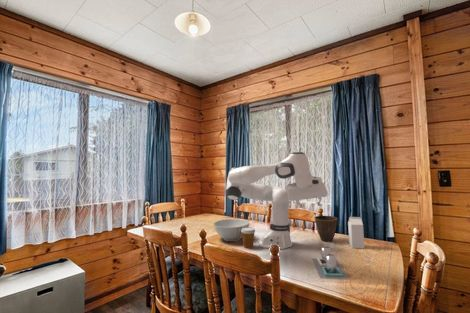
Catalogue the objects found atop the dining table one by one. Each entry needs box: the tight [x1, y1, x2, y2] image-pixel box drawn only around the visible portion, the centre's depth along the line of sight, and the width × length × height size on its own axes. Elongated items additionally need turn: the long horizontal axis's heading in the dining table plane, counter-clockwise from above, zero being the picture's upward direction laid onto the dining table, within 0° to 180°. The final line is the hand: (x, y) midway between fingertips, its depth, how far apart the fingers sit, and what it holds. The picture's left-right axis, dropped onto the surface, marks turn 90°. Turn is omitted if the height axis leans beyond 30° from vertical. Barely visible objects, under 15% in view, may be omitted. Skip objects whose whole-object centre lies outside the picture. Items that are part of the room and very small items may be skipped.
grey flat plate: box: [311, 258, 351, 283], centre depth 117 cm, size 13×23×2 cm, turn 171°
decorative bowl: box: [213, 218, 250, 242], centre depth 173 cm, size 27×27×12 cm
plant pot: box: [314, 215, 338, 243], centre depth 164 cm, size 15×15×16 cm
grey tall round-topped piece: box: [320, 246, 332, 264], centre depth 122 cm, size 4×4×8 cm
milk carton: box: [347, 216, 365, 249], centre depth 151 cm, size 7×7×19 cm
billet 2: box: [326, 253, 337, 274], centre depth 111 cm, size 4×4×8 cm
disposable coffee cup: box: [241, 226, 256, 249], centre depth 155 cm, size 10×10×12 cm
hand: (310, 206), depth 123 cm, fingers open, 8 cm apart
